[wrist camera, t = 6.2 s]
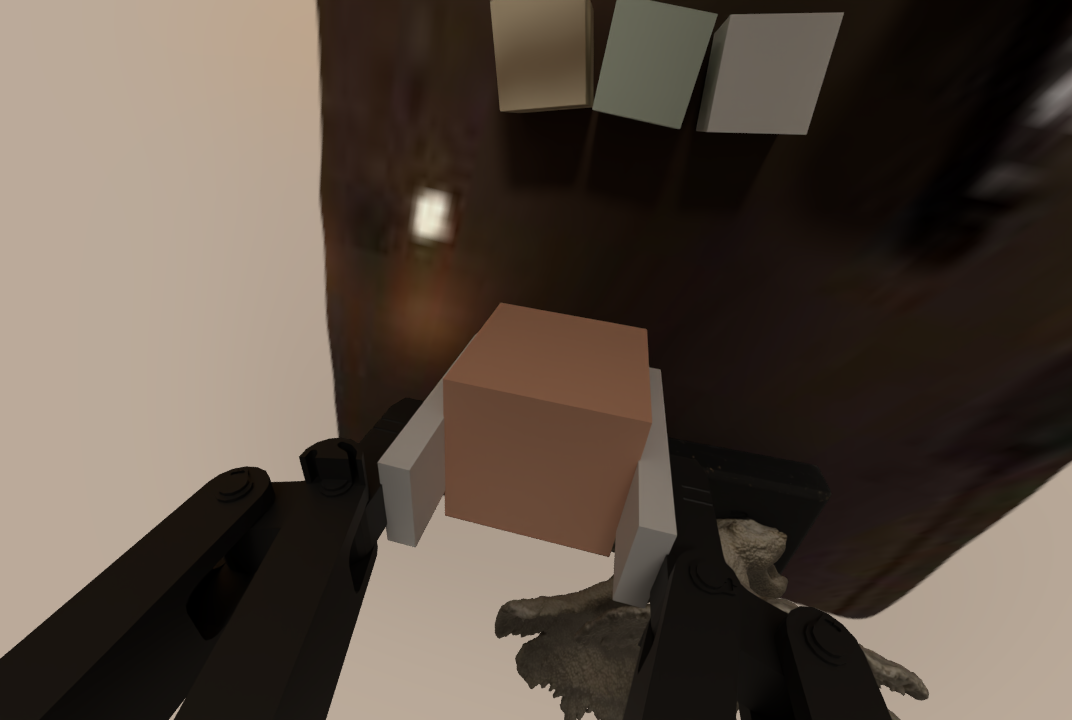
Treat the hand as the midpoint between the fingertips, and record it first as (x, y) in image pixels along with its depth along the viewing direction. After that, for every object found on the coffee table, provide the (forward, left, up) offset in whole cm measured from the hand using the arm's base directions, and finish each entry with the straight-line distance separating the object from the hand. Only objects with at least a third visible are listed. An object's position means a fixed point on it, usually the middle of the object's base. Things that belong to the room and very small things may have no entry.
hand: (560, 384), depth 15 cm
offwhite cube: (-11, +7, -20) cm, 24 cm away
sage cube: (-11, +1, -20) cm, 23 cm away
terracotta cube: (0, 0, 0) cm, 0 cm away
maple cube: (-11, -5, -20) cm, 23 cm away
